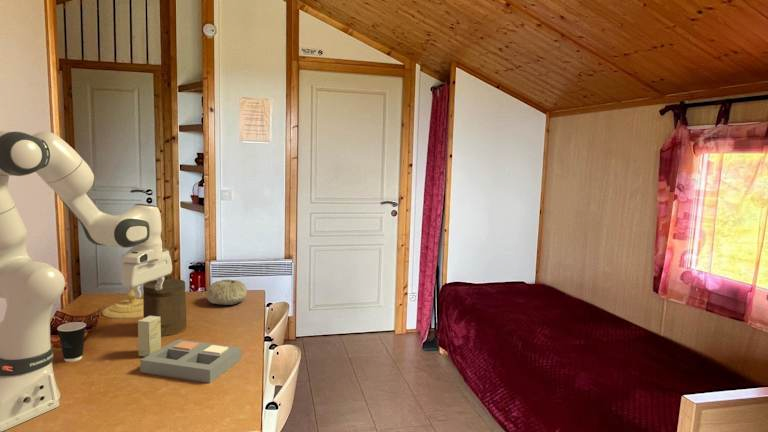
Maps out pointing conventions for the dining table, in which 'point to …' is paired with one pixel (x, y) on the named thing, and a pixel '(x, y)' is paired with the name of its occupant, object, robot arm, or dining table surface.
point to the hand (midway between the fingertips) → (149, 293)
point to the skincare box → (149, 335)
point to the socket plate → (191, 360)
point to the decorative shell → (226, 292)
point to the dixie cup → (72, 340)
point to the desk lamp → (125, 307)
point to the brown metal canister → (166, 304)
